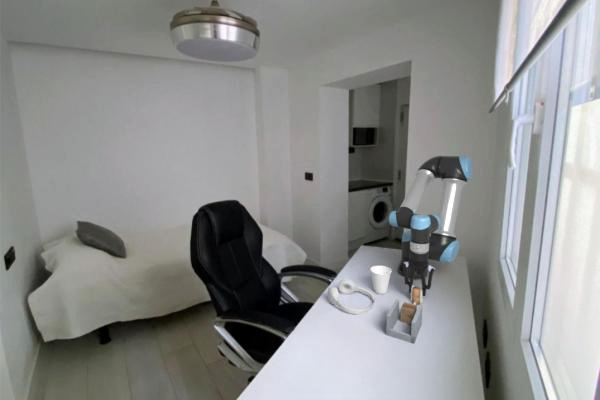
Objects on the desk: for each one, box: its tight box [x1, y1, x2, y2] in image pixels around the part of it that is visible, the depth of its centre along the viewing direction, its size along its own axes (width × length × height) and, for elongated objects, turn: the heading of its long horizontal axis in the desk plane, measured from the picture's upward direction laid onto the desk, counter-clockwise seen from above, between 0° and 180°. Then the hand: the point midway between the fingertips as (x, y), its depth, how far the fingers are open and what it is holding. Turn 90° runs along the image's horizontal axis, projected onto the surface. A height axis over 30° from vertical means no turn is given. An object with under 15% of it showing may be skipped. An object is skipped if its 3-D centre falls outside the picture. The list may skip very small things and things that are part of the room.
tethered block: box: [400, 286, 421, 326], centre depth 125 cm, size 19×5×7 cm, turn 148°
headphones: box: [326, 278, 375, 315], centre depth 134 cm, size 7×18×20 cm
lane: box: [385, 299, 423, 344], centre depth 113 cm, size 13×10×8 cm
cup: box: [369, 265, 392, 295], centre depth 142 cm, size 10×10×11 cm
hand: (416, 300), depth 133 cm, fingers closed on tethered block, 3 cm apart
